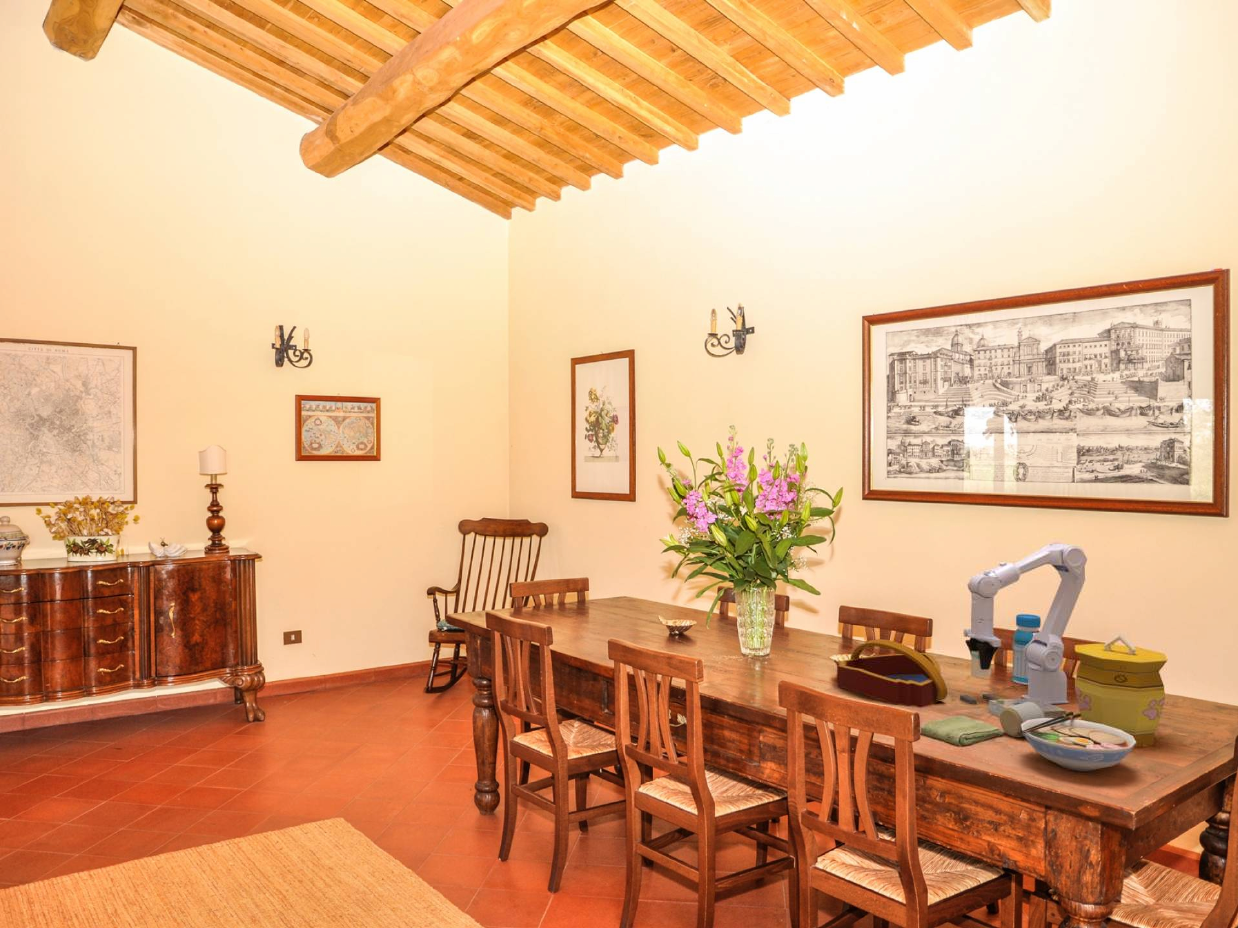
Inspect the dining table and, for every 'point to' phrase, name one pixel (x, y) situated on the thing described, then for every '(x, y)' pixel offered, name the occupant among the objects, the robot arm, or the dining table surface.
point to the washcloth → (960, 730)
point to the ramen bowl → (1077, 742)
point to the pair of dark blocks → (974, 701)
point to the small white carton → (978, 666)
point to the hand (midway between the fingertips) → (981, 667)
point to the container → (1121, 687)
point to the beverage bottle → (1023, 645)
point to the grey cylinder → (1019, 717)
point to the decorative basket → (893, 675)
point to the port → (1047, 708)
